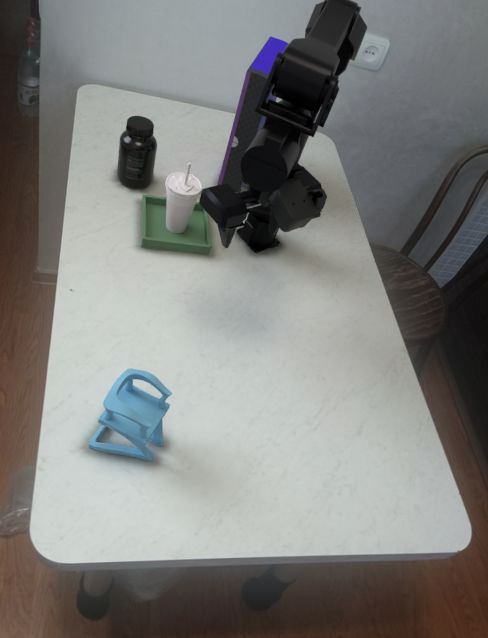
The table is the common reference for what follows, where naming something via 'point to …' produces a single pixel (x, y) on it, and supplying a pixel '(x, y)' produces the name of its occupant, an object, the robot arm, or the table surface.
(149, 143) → the supplement bottle
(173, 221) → the smoothie
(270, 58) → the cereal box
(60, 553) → the table surface
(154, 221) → the tray
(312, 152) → the table surface
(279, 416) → the table surface
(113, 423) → the chair
